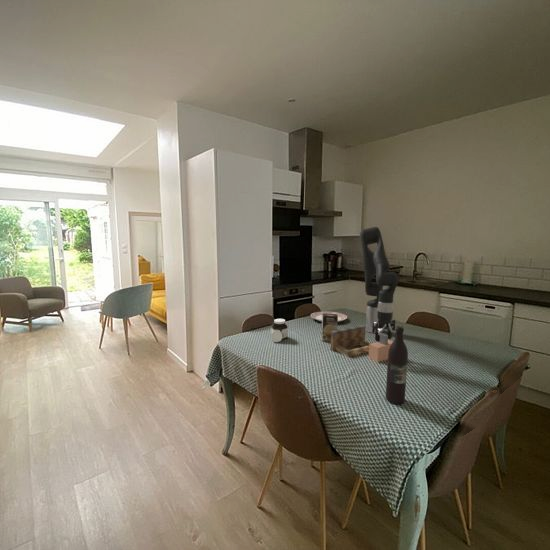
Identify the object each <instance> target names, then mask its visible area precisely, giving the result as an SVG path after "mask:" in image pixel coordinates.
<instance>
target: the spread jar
mask: <svg viewBox="0 0 550 550" xmlns="http://www.w3.org/2000/svg"><path fill="white" fill-rule="evenodd" d="M270 333H271V335H270V338H271V340H272V341H273V342H275V343H279V342H281V341H282V340H283V339H284V340H286V339H287V338H288V335H289V327H288V325H287V323H286V319H284V318H276V319H273V323H272V325H271V332H270ZM284 340H283V341H284Z"/></svg>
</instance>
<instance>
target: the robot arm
mask: <svg viewBox="0 0 550 550" xmlns="http://www.w3.org/2000/svg"><path fill="white" fill-rule="evenodd" d="M359 236H360V243H361V249H362V261H363V271H364V281H365V282H364V284H365V285H364V287H365V289H364V291H365V294H366V295H367V296H370V297H376V298H374V299H371V300H368V301H366V313H365V316H366V317H365V326H366V329H365V332H367V333H372V334H374V335H375V337H374V338H375V339H374V340H375V342H380V333H383V331H384V330H385V331H387V332H386V333H387V334H386V335H388V340H392V337H393V332H394V331H395V332H396V319H393V317H394V316H393V315H394V295H395V291H396V288H397V286H398V283H399V276H398V274H397V273H396V272H394V271H390V268H391V266H390V262H389V260H388V257H387V254H386V252H385V251H386V249H385V246H384V241H383V236H382V234H381V230H380V228H379V227H377V226H375V227H374V226H373V227H369V228H364V229H362V230H360V233H359ZM374 244H377V245H376V249H375V251H374V252H373V251H372V250H371V249H370V247H369V245H374ZM375 276H376V277H375ZM374 277H375V282H374V281H372V279H373V278H374ZM384 287H386V288H385V289H383V288H384Z"/></svg>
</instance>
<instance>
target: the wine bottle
mask: <svg viewBox="0 0 550 550" xmlns="http://www.w3.org/2000/svg"><path fill="white" fill-rule="evenodd" d="M404 331H405V329H404V327H403V326H400V325H398V326H395V337H394V339H393V340H392V341H393V343H392V344H391V346H390V348H389V352H388V360H387V367H386V369H387V371H386V383H385V400H386V401H387V402H389V403H391V404H393V405H402V404H404V403H405V402H406V389H407V387H406V385H407V373H408V363H409V362H408V360H409V359H408V358H409V351H408V348H407V345H406V343H405V341H404Z"/></svg>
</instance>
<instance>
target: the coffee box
mask: <svg viewBox="0 0 550 550" xmlns="http://www.w3.org/2000/svg"><path fill="white" fill-rule="evenodd" d="M338 323H339V322H338V316H337V314H327V313H322V322H321V335H320V336H321V338H320V339H321V342H329V343H331V331H334V330H338Z"/></svg>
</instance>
